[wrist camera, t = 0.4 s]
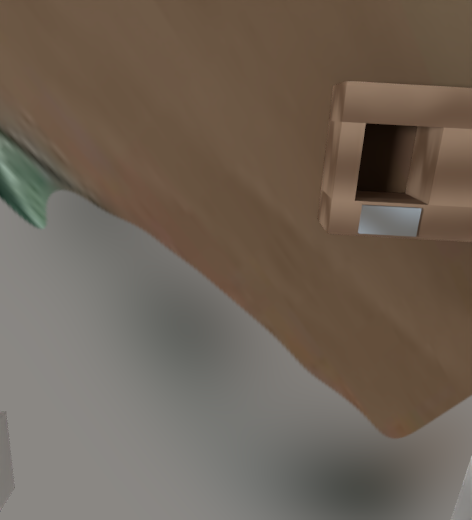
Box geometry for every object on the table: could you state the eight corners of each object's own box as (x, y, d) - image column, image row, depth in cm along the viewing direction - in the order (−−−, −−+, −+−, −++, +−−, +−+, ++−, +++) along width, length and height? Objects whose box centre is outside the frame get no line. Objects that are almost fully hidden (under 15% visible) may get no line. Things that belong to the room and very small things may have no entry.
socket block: (333, 85, 34) (348, 80, 29) (556, 97, 34) (609, 95, 29) (317, 221, 38) (328, 237, 33) (519, 233, 38) (561, 251, 33)
